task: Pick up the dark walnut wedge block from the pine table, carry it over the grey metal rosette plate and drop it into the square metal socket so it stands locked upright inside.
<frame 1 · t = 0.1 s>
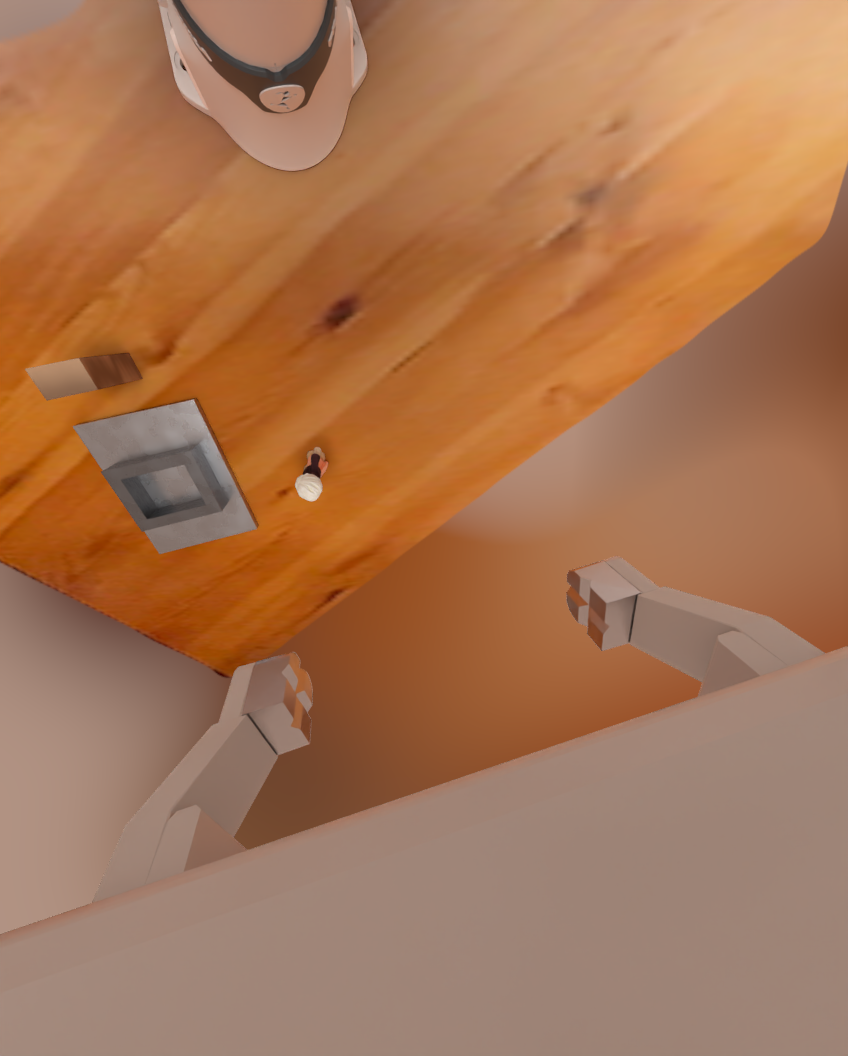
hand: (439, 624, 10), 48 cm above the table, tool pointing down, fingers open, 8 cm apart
grandmother figurine: (315, 460, 55), on the table
walnut wedge: (115, 370, 45), on the table
rosette plate: (178, 480, 52), on the table
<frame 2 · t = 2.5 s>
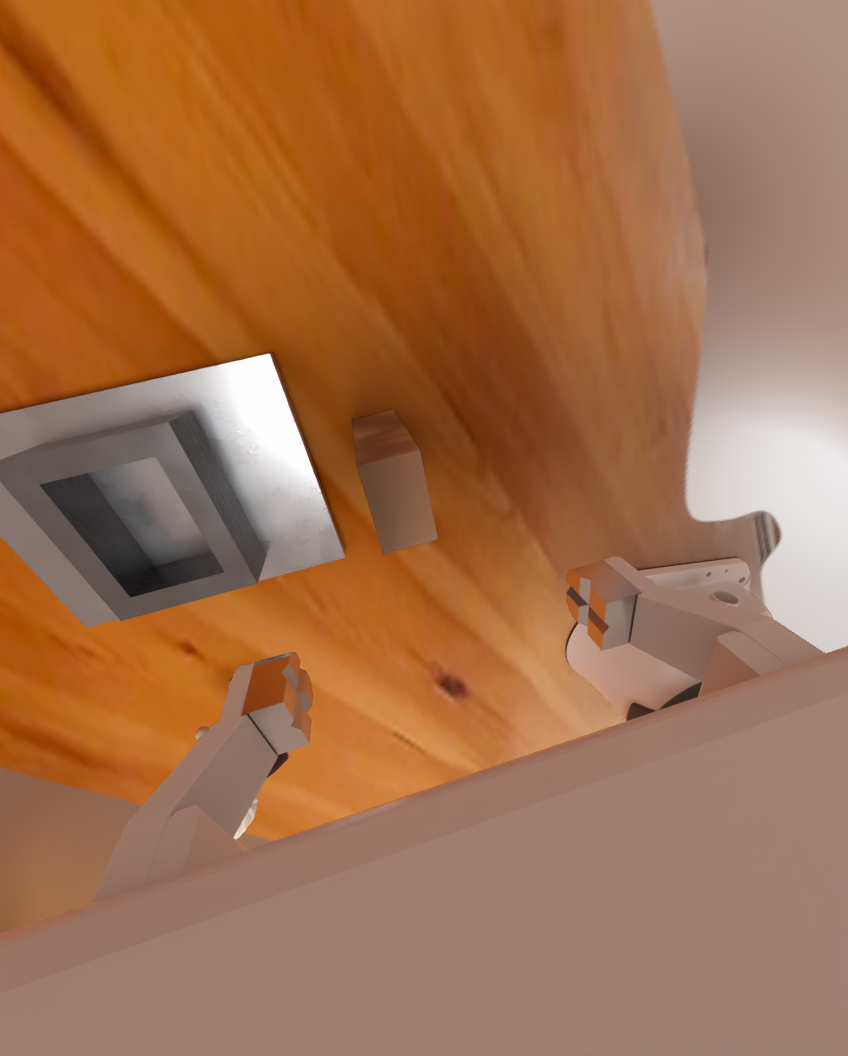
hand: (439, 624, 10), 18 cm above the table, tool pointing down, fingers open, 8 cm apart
grandmother figurine: (261, 680, 35), on the table
walnut wedge: (381, 448, 26), on the table
rosette plate: (173, 500, 25), on the table
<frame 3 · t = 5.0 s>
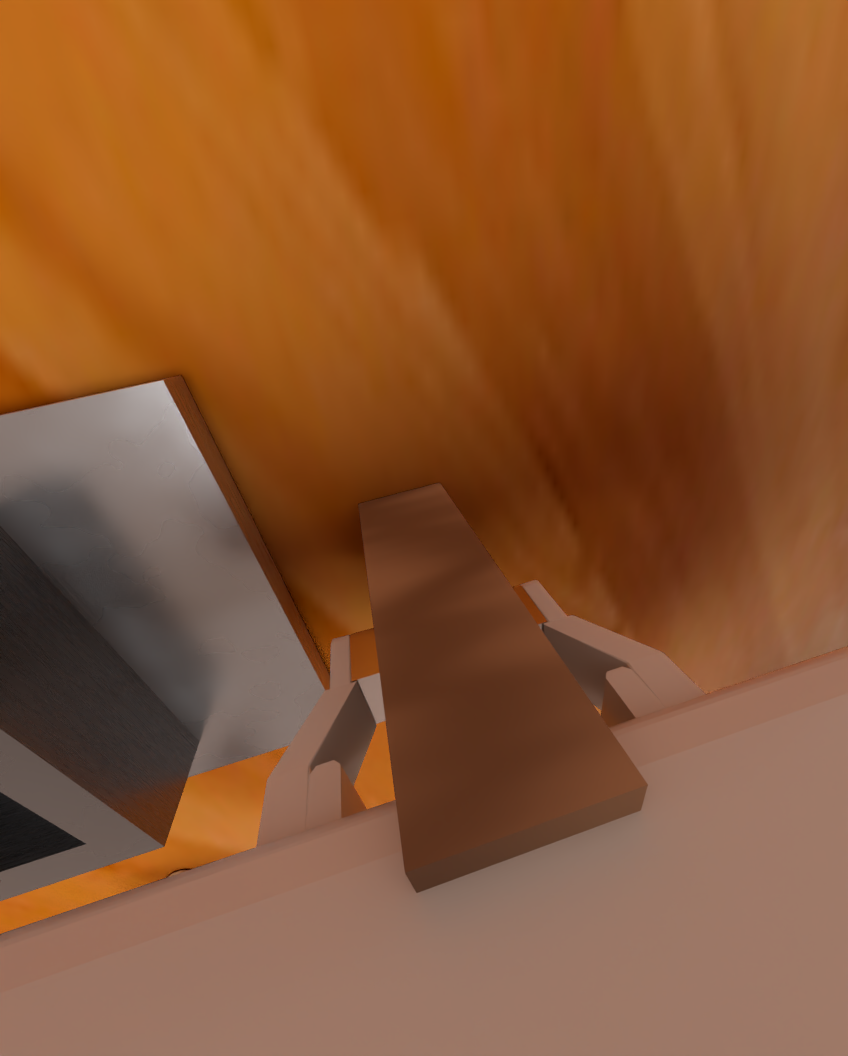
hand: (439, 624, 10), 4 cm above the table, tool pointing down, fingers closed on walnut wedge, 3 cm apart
walnut wedge: (413, 550, 14), on the table, touching gripper
rosette plate: (2, 664, 13), on the table
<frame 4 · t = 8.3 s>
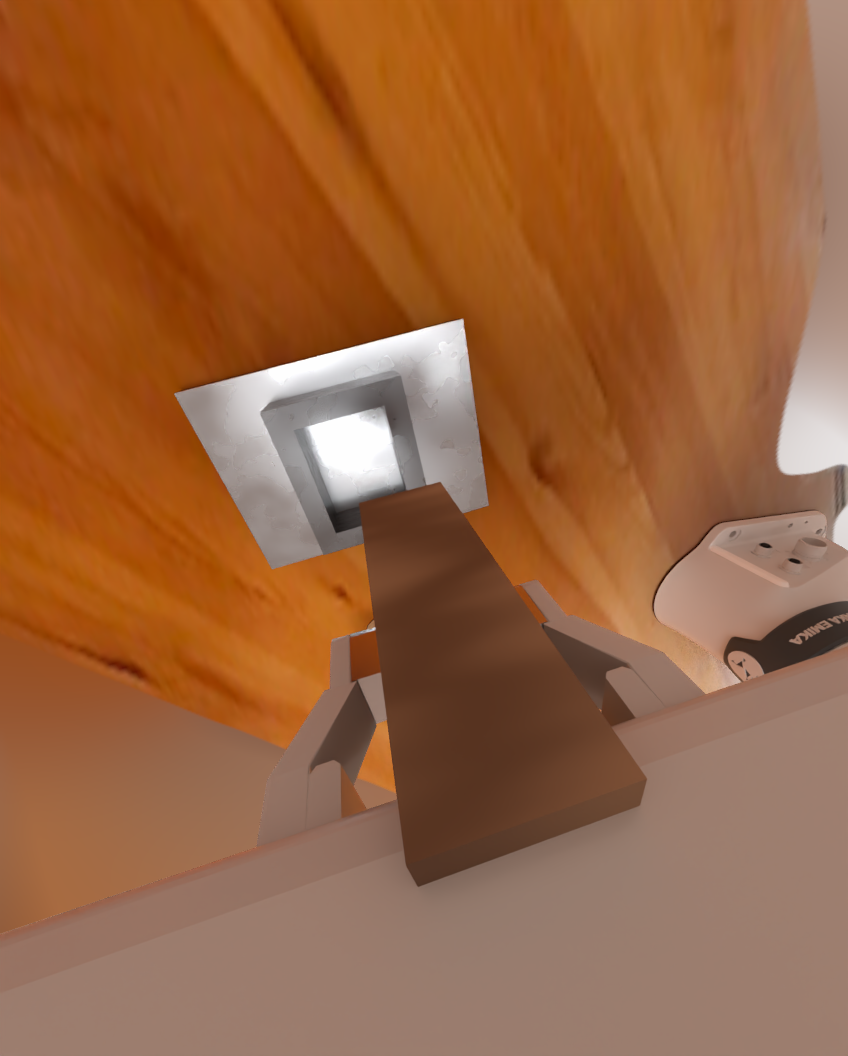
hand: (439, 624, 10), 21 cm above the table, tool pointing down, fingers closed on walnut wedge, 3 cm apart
walnut wedge: (413, 549, 14), point 17 cm above the table, touching gripper
rosette plate: (355, 453, 29), on the table
when the fingers open (7 cm above the table, at t = 11.9 s): walnut wedge drops 1 cm, resting on rosette plate.
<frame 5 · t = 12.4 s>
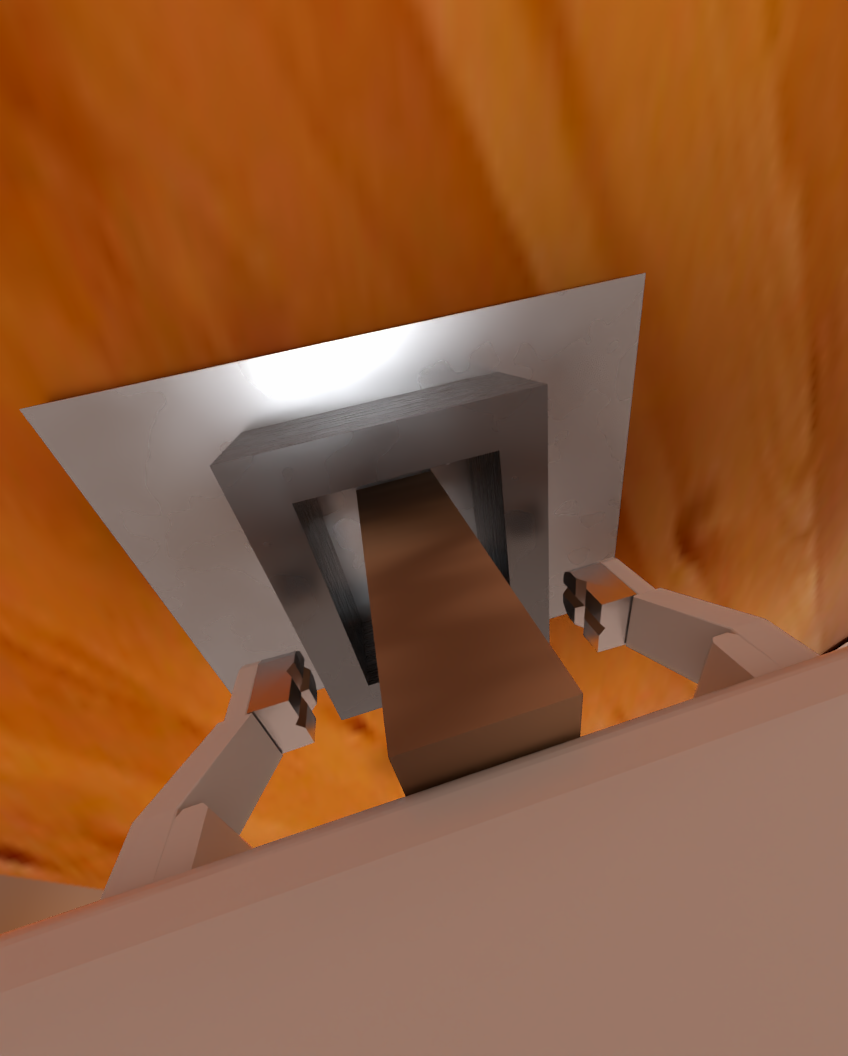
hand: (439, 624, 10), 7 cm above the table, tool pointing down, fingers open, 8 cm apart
walnut wedge: (407, 534, 15), point 1 cm above the table, touching rosette plate
rosette plate: (402, 521, 16), on the table
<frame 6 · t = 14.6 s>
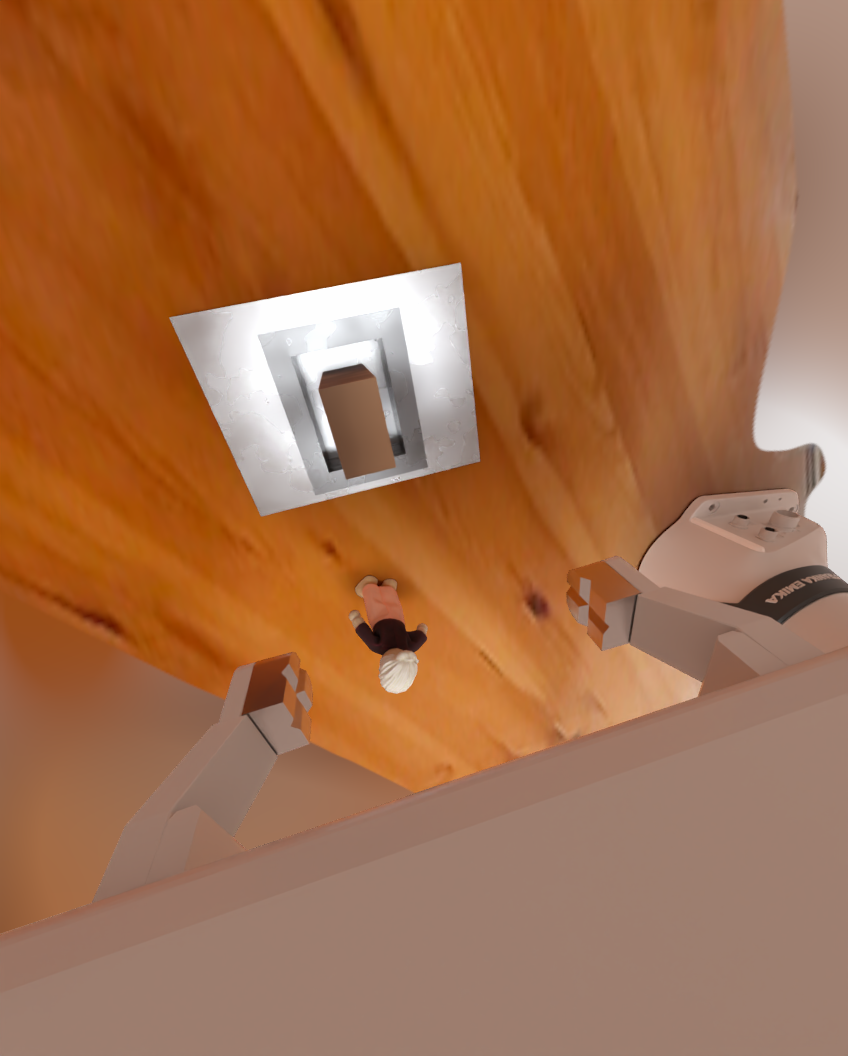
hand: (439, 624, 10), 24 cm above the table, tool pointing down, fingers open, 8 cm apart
grandmother figurine: (381, 587, 39), on the table
walnut wedge: (351, 401, 28), point 1 cm above the table, touching rosette plate
rosette plate: (350, 399, 29), on the table
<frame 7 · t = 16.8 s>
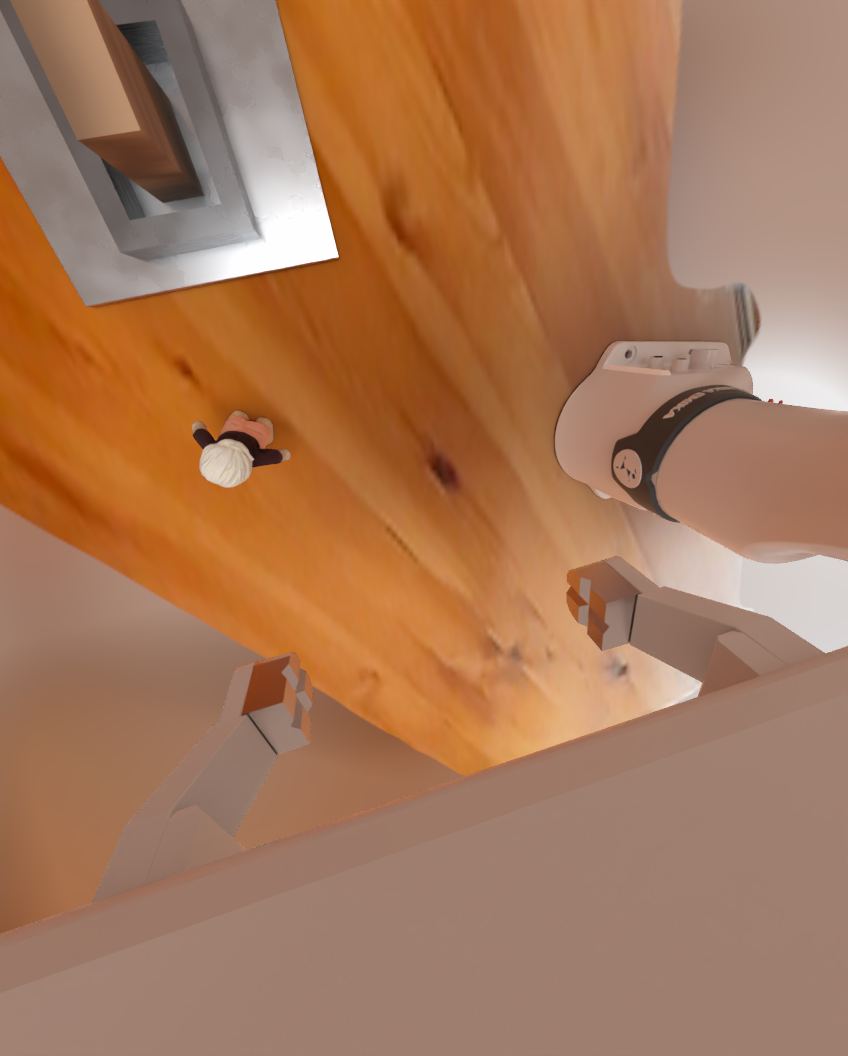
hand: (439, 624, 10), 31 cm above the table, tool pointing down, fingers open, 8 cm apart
grandmother figurine: (256, 429, 36), on the table
walnut wedge: (165, 152, 25), point 1 cm above the table, touching rosette plate
rosette plate: (171, 159, 26), on the table
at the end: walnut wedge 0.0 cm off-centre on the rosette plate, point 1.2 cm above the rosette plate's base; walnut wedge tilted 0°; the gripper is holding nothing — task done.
